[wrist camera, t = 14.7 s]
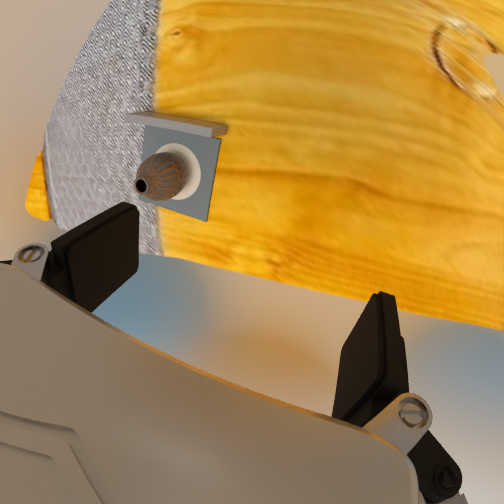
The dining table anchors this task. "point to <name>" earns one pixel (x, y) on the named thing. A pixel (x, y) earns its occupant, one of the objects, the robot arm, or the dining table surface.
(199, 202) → the mat
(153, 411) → the robot arm
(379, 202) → the dining table surface
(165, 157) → the vase
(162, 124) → the low wall
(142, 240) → the dining table surface
